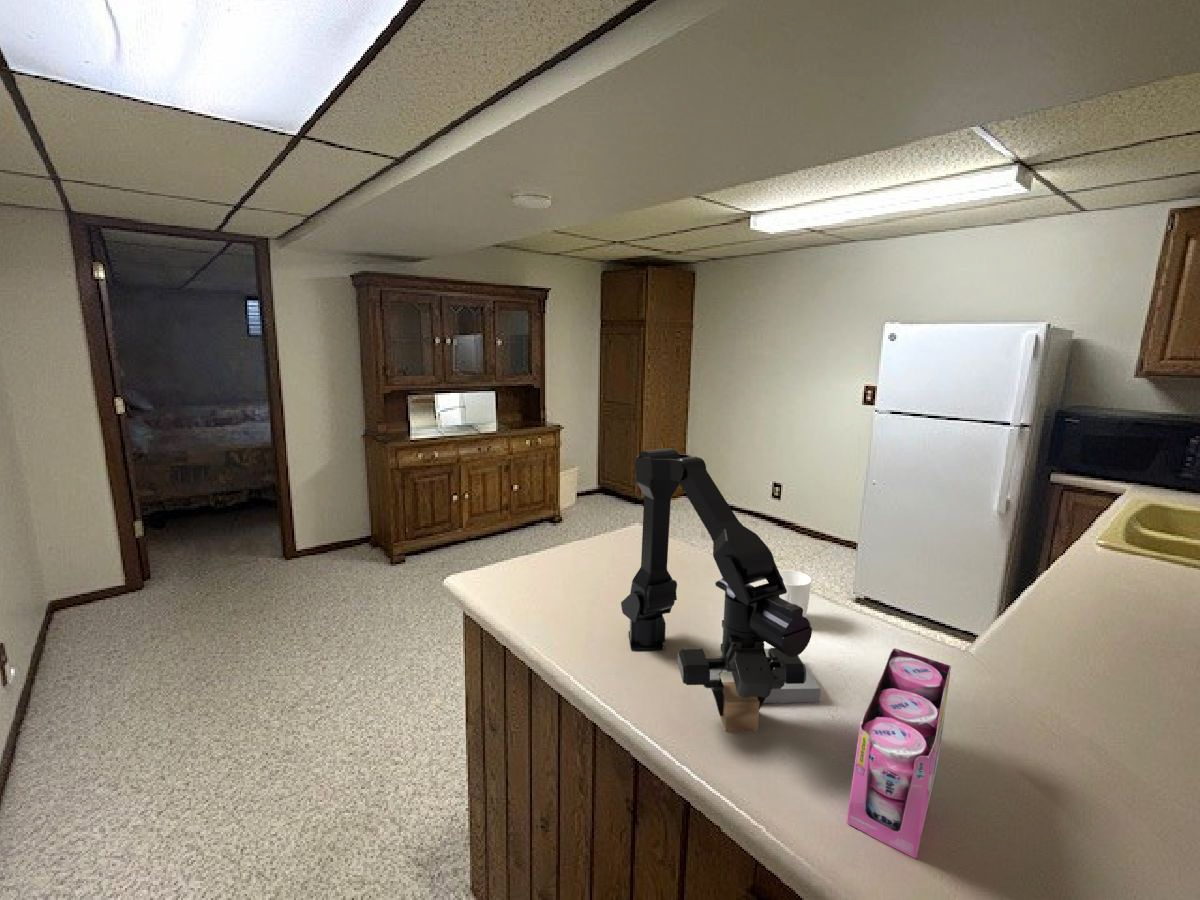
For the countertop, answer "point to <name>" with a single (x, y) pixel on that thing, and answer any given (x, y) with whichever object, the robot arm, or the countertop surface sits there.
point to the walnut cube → (739, 710)
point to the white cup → (796, 588)
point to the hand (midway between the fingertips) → (737, 713)
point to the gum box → (899, 751)
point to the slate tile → (796, 691)
